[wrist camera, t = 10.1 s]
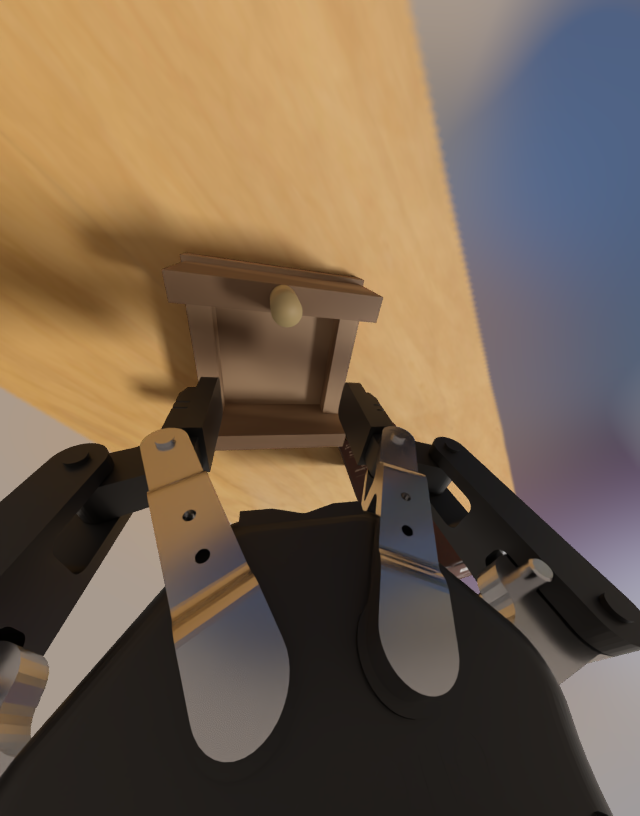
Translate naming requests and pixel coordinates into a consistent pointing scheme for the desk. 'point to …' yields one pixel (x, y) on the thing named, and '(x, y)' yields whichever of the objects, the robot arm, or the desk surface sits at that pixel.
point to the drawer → (272, 346)
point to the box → (443, 547)
